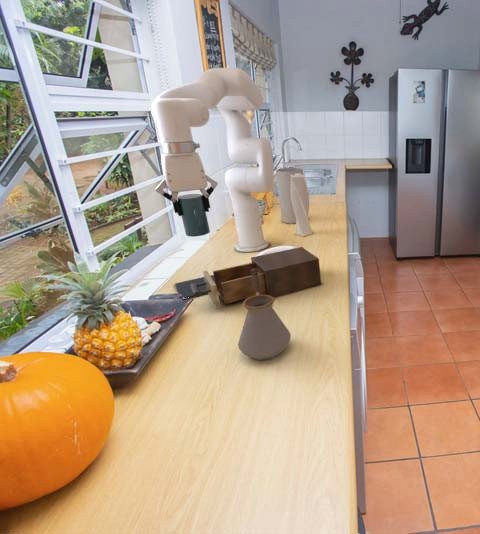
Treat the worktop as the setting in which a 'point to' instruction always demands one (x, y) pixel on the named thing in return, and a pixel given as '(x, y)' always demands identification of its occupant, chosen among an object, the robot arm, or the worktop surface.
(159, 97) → the robot arm
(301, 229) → the skyscraper
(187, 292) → the mat
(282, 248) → the banana
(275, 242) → the worktop surface
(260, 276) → the drawer
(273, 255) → the cabinet
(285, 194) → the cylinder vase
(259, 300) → the turkish coffee pot
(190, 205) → the teal blue cylinder
